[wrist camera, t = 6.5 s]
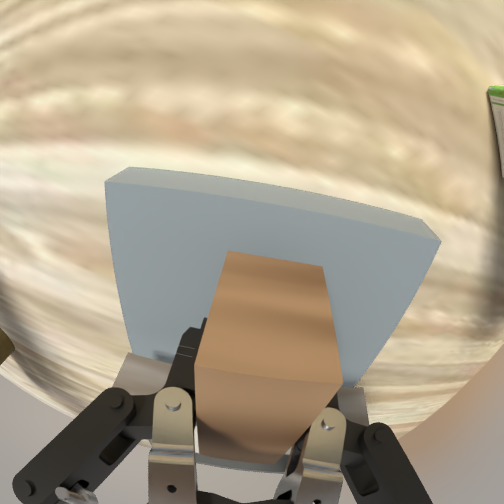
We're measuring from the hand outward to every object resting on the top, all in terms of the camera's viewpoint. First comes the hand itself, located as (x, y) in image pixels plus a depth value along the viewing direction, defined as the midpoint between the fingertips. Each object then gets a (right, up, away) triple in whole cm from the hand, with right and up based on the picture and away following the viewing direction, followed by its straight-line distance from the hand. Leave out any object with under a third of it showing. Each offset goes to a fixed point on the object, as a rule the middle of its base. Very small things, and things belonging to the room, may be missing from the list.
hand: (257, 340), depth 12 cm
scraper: (0, 0, 0) cm, 0 cm away
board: (-1, -3, +8) cm, 8 cm away
